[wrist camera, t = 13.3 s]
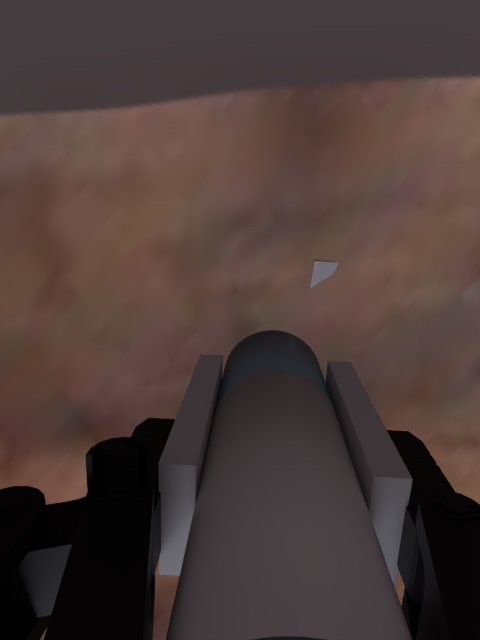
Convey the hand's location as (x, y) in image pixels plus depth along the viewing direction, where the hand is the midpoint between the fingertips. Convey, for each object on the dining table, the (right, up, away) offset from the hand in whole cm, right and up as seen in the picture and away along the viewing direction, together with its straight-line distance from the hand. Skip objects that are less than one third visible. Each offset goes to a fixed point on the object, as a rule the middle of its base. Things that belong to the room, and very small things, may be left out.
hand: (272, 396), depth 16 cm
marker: (0, 0, +1) cm, 2 cm away
